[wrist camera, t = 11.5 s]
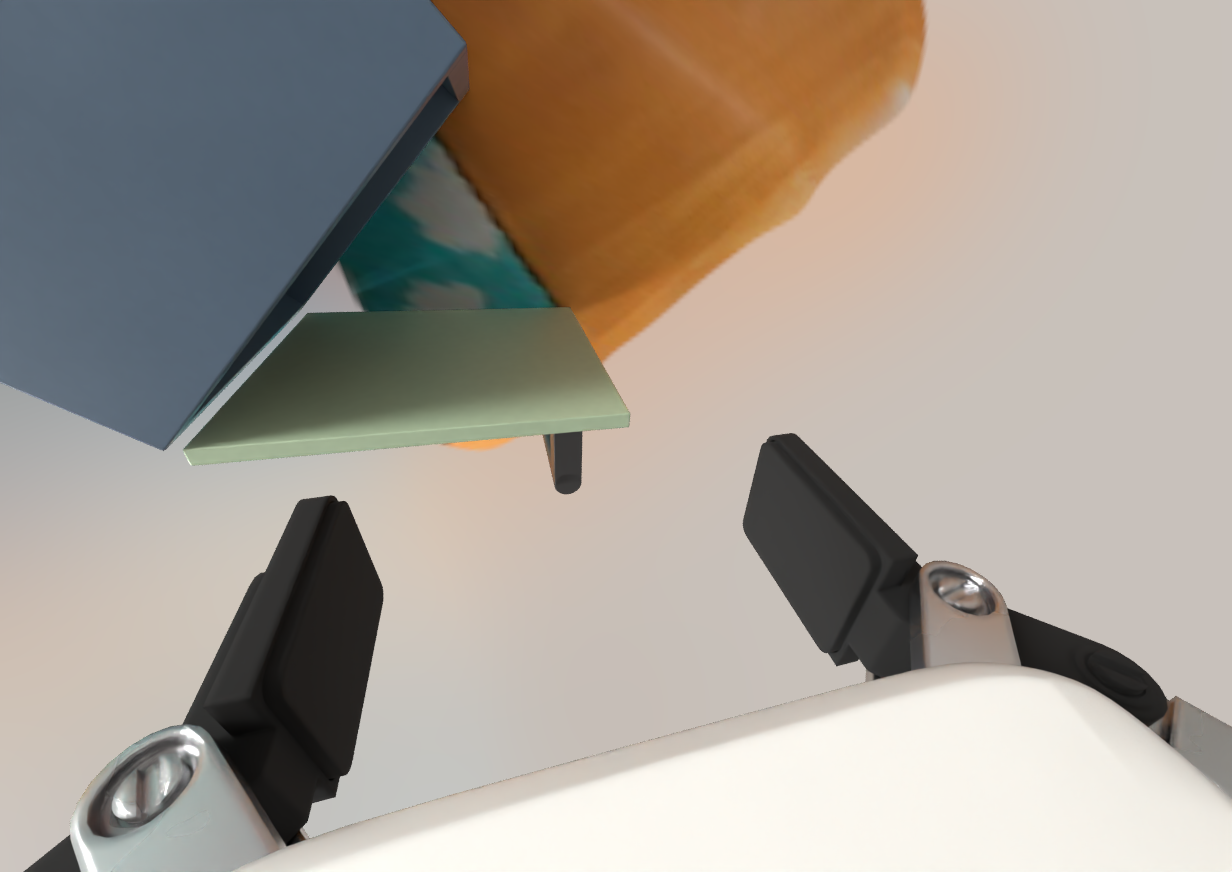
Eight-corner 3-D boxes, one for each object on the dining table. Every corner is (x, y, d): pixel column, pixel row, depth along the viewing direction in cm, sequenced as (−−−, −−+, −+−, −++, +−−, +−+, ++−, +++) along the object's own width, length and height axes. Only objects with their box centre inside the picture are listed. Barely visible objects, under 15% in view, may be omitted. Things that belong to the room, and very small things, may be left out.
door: (570, 389, 39) (621, 523, 26) (335, 404, 35) (249, 575, 21) (570, 306, 36) (630, 413, 22) (307, 312, 31) (181, 449, 18)
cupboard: (469, 89, 27) (468, 43, 13) (299, 311, 31) (163, 452, 17) (247, -161, 21) (-203, -746, 7) (67, 161, 25) (-447, 198, 11)
